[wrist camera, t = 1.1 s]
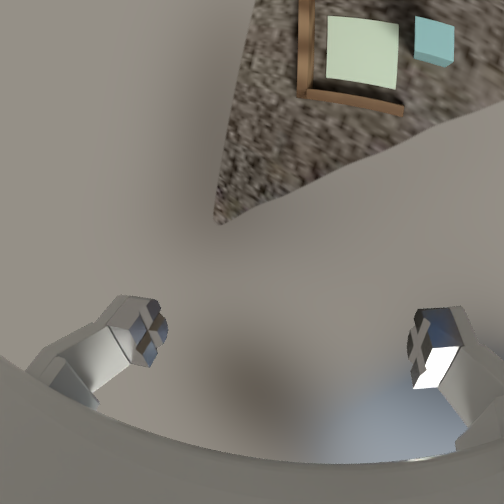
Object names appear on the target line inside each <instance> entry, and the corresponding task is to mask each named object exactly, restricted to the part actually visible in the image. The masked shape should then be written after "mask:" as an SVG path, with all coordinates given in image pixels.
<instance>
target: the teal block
mask: <svg viewBox="0 0 504 504" xmlns="http://www.w3.org/2000/svg"><path fill="white" fill-rule="evenodd" d="M414 59H417V60H421V61H425V62H429V63H432V64H436V65H439V66H442V67H446V66H448V65H449V64H451V63H452V62H453V60H454V26H451V25H447V24H444V23H441V22H437V21H433V20H430V19H426V18H422V17H418V16H415V43H414Z"/></svg>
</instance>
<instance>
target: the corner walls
mask: <svg viewBox="0 0 504 504" xmlns="http://www.w3.org/2000/svg"><path fill="white" fill-rule="evenodd" d="M314 36H315V0H299V22H298V71H297V98H304V99H312V100H320V101H327V102H333V103H339V104H345V105H351V106H356V107H361V108H366V109H371V110H375V111H380V112H384V113H388V114H392V115H396V116H400V117H403V113H404V105H400V104H396V103H392V102H388V101H383V100H379V99H374V98H369V97H364V96H359V95H353V94H347V93H341V92H335V91H328V90H320V89H313V70H314Z"/></svg>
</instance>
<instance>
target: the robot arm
mask: <svg viewBox="0 0 504 504" xmlns="http://www.w3.org/2000/svg"><path fill="white" fill-rule="evenodd" d="M160 310H161V307H160V304H159V302H158V301H157V300H155V299H151V298H143V297H136V296H127V295H119V296H117V297H116V298H115V299H114V300H113V302H112V303H111V304H110V305H109V306H108V307H107V309H106V310H105V311H104V312H103V313H102V315H101V316H100V317H99V318H98V319H97V321H96V322H95V323H90V324H88V325H86V326H84V327H82V328H80V329H78V330H76V331H74V332H73V333H71V334H69V335H67V336H65V337H63V338H61V339H59V340H57V341H56V342H54V343H52V344H50V345H48V346H46V347H44V348H43V349H42V350H41V352H40V353H39V354H38V355H37V356H36V358H35V359H34V360H33V362H32V363H31V364H30V365H29V367H28V368H27V369H26V370H25V371H23V370H21V369H20V368H19V367H17V366H16V365H14V364H12V363H11V362H10V361H8V360H7V359H6V358H4V357H3V356H1V355H0V504H504V361H503V360H502V359H501V358H500V357H498V356H497V355H496V354H495V353H494V352H493V351H491V350H490V349H489V348H488V347H486V346H485V345H484V344H479V341H478V339H477V337H476V334H475V332H474V330H473V327H472V325H471V323H470V320H469V318H468V316H467V314H466V312H465V310H464V308H463V307H462V306H456V307H455V306H454V307H447V308H445V307H443V308H423V309H418V310H417V312H416V313H415V316H414V322H415V326H414V327H413V328H412V329H411V330H410V332H409V335H408V342H407V354H408V359H409V360H410V361H411V362H412V363H413V366H412V369H411V377H412V383H413V388H414V389H417V388H430V387H438V389H439V390H440V392H441V393H442V394H443V396H444V397H445V398H446V399H447V401H448V402H449V403H450V405H451V406H452V407H453V409H454V410H455V411H456V412H457V414H458V415H459V416H460V418H461V419H462V421H463V422H464V423H465V425H466V426H467V427H468V429H467V430H466V431H465V432H464V433H463V434H462V435H461V436H460V437H458V439H457V440H456V441H455V445H456V451H454V452H450V453H445V454H440V455H434V456H429V457H423V458H416V459H409V460H400V461H392V462H379V463H360V464H317V463H299V462H288V461H277V460H268V459H261V458H254V457H248V456H242V455H236V454H230V453H226V452H221V451H216V450H211V449H207V448H203V447H199V446H195V445H191V444H187V443H183V442H180V441H177V440H173V439H170V438H167V437H163V436H160V435H157V434H154V433H151V432H148V431H145V430H142V429H140V428H137V427H134V426H131V425H129V424H126V423H124V422H121V421H119V420H116V419H114V418H111V417H109V416H107V415H104V414H102V413H100V412H98V411H96V409H97V408H98V406H99V404H100V403H99V400H98V399H97V398H96V397H95V396H94V395H93V392H94V391H96V390H97V389H98V388H100V387H101V386H102V385H104V384H105V383H106V382H108V381H109V380H110V379H112V378H113V377H114V376H116V375H117V374H118V373H120V372H121V371H122V370H124V369H125V368H126V367H128V366H129V365H130V364H135V365H139V366H144V367H150V366H151V365H152V363H153V361H154V359H155V358H156V356H157V354H158V352H157V348H158V347H160V346H161V345H163V344H164V342H165V340H166V338H167V333H168V325H167V321H166V319H165V318H164V317H163V316H162V315H161V314H160Z"/></svg>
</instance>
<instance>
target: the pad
mask: <svg viewBox="0 0 504 504" xmlns="http://www.w3.org/2000/svg"><path fill="white" fill-rule="evenodd" d="M398 38H399V24H393V23H388V22H382V21H375V20H368V19H360V18H350V17H338V16H328V38H327V68H326V78H334V79H342V80H348V81H355V82H361V83H366V84H371V85H377V86H381V87H386V88H391V89H396V77H397V62H398Z"/></svg>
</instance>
